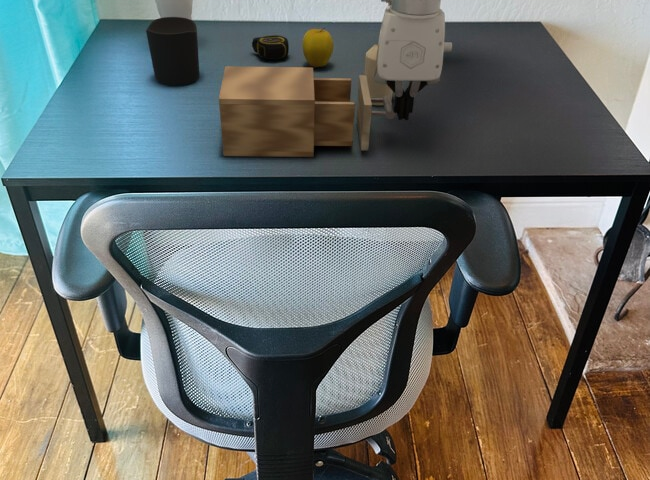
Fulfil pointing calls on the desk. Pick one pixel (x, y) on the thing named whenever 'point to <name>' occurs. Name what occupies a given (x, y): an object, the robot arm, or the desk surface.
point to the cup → (175, 8)
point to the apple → (317, 47)
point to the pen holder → (174, 50)
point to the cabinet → (267, 111)
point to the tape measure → (271, 46)
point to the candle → (370, 67)
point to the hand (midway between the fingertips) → (402, 116)
